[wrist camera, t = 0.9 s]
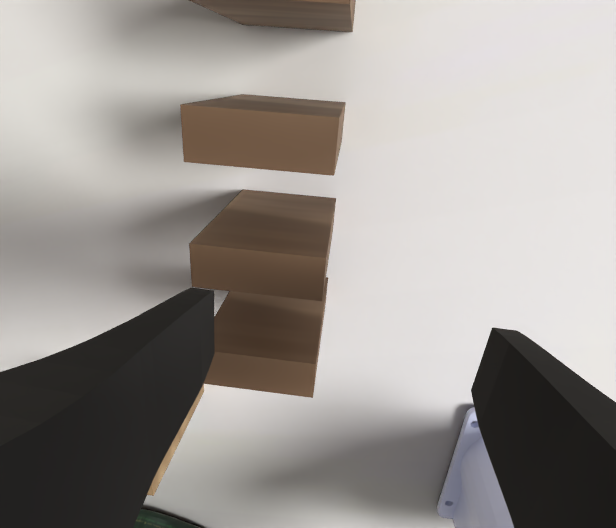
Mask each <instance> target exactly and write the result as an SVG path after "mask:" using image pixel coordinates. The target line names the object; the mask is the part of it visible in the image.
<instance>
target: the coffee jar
mask: <svg viewBox="0 0 616 528" xmlns="http://www.w3.org/2000/svg"><path fill="white" fill-rule="evenodd" d="M133 528H199V527H197V526H195V525H192V524H189V523H187V522H184V521H181V520H179V519H176V518H173V517H170V516H167V515H164V514H161V513H157V512H154V511H150V510H144V509H141V510H140V512H139V515H138V517H137V520H136V522H135V525H134V527H133Z"/></svg>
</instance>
